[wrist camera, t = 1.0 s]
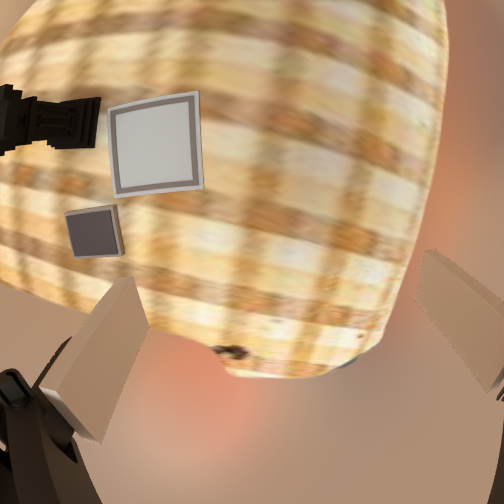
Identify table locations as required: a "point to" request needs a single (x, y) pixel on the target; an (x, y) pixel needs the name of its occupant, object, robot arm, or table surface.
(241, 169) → the table surface
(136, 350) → the robot arm
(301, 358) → the table surface
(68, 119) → the chess piece
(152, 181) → the print sheet
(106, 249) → the ink pad
